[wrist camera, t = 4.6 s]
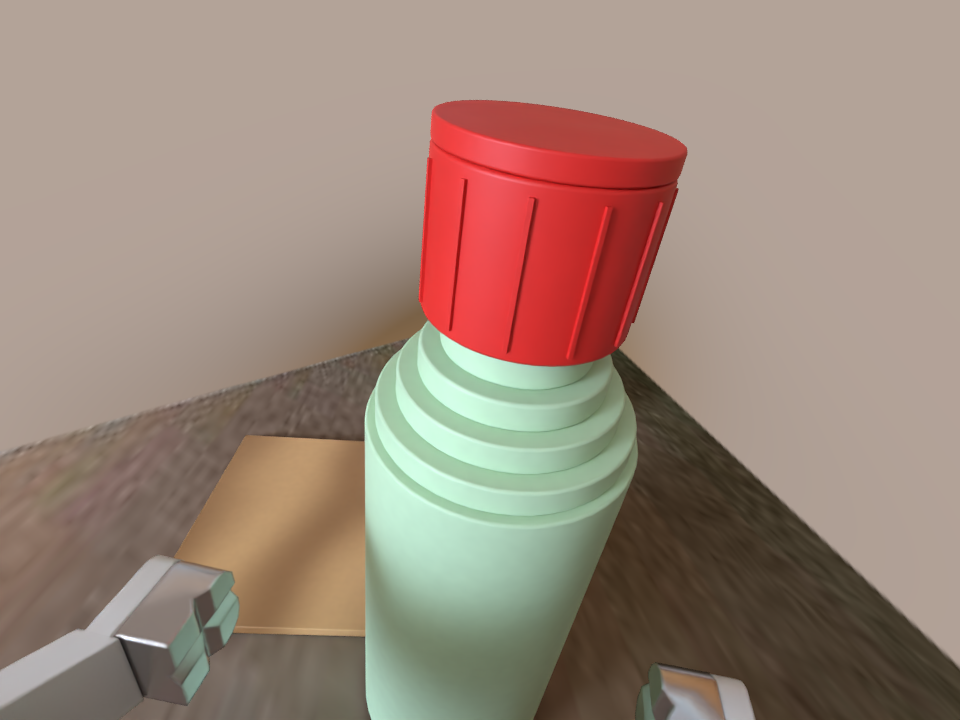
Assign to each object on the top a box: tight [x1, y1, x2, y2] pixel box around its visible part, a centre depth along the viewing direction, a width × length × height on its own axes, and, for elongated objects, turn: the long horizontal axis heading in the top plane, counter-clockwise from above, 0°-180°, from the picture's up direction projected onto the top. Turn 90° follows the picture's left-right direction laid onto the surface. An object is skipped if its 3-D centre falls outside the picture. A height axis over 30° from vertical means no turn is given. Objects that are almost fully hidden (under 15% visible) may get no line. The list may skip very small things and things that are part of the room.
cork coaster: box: [174, 435, 366, 637], centre depth 24 cm, size 11×11×1 cm
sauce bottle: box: [365, 320, 638, 720], centre depth 13 cm, size 6×6×18 cm
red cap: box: [419, 100, 687, 367], centre depth 9 cm, size 4×4×3 cm
